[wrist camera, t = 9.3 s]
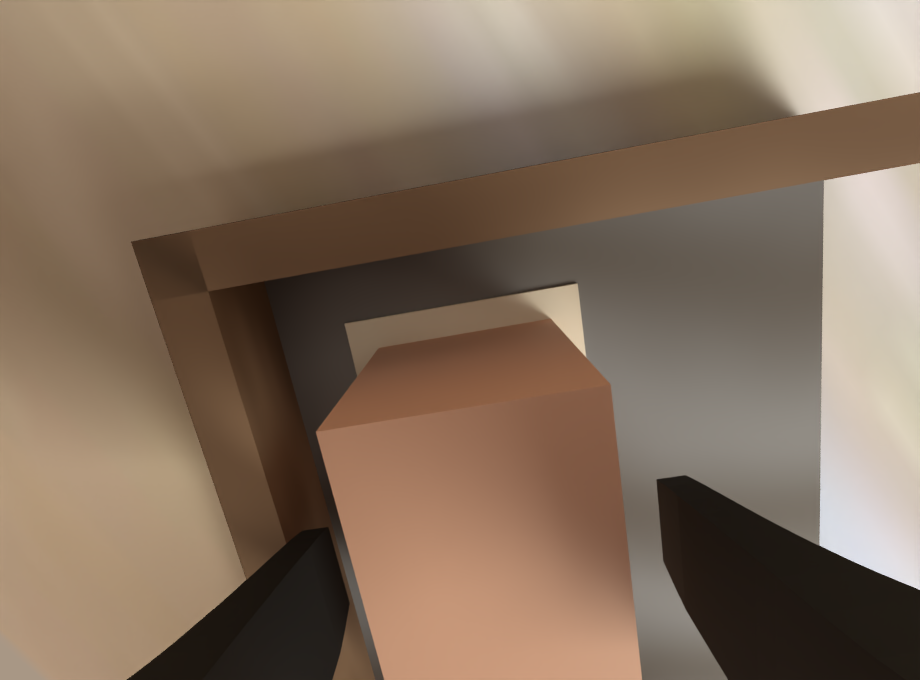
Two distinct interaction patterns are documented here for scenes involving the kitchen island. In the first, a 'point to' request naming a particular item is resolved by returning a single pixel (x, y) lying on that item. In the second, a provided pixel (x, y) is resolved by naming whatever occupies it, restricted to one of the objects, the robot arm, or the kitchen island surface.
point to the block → (486, 509)
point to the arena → (533, 299)
